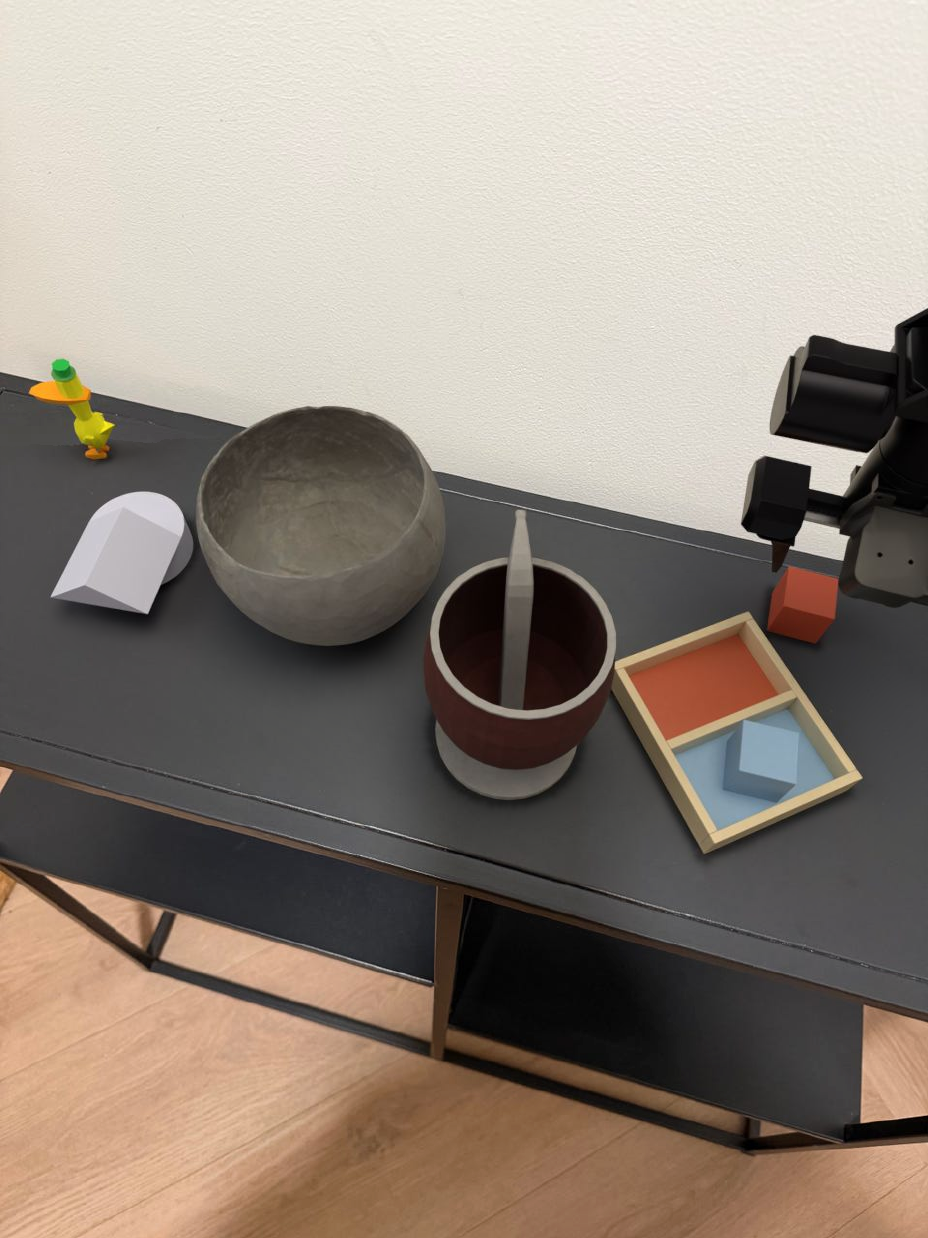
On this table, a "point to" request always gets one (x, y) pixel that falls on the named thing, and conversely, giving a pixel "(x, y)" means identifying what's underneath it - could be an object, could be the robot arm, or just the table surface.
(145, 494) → the wedge on round base
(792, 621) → the red block
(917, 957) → the table surface
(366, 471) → the bowl
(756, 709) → the sorting tray
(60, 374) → the toy figure
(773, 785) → the blue block
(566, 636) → the mate gourd
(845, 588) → the robot arm
